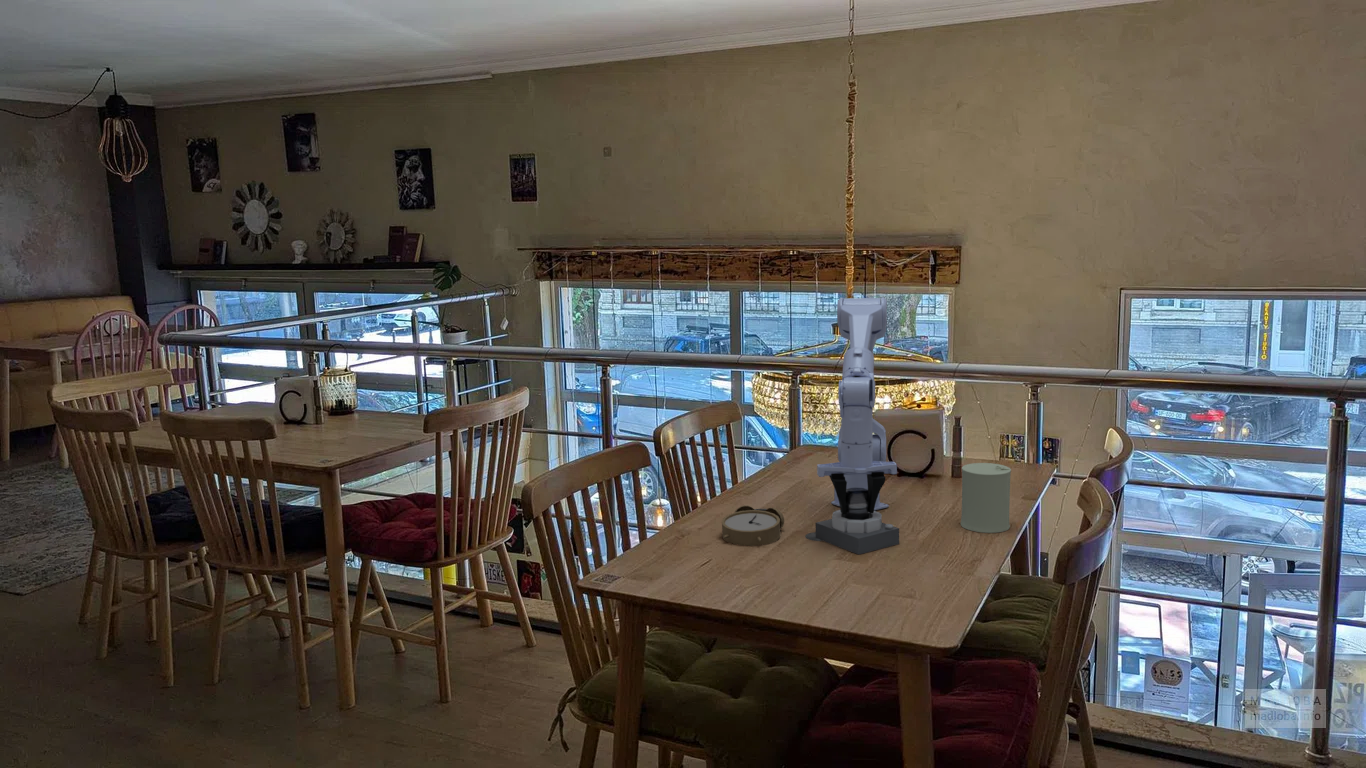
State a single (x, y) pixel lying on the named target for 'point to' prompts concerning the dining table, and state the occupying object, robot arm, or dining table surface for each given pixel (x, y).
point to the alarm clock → (752, 526)
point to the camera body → (857, 533)
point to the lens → (857, 504)
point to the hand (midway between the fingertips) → (856, 512)
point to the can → (985, 497)
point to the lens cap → (812, 537)
